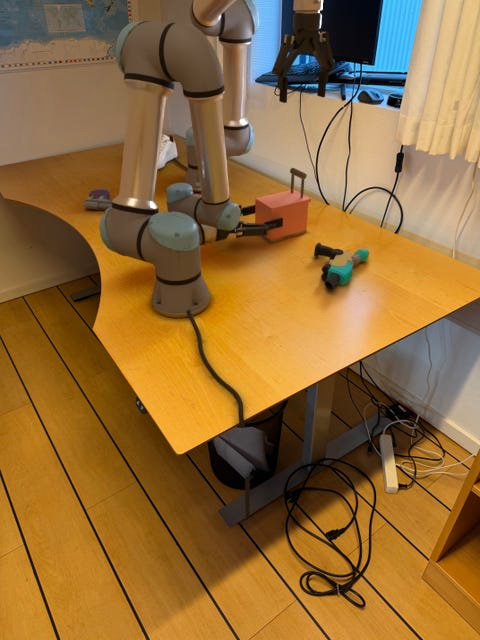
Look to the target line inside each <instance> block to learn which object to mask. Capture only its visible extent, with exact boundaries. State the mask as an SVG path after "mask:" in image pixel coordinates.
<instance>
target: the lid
mask: <svg viewBox="0 0 480 640" xmlns="http://www.w3.org/2000/svg"><path fill="white" fill-rule="evenodd" d="M289 173H290V174H291V179H290V189H289V190H285V191H281V192H276V193H272V194H268V195H264V196H260V197H255V198H254V200H255V202H257V203H259V204H260V205H262V206H264V207H265V208H267V209H268V210H270V211H276V210H280V209H284V208H288V207H292V206H296V205H300V204H304V203H308V204H309V203H311V202H312V198H311V197H309V196H307V195H305V194H304V193H305V180H306V179H307V176H308V175H307V173H305V172H304V171H301V170H299V169H297V168H295V167H291V168H290V170H289ZM295 177H297V178H300V179H301V183H300V191H298V190H295Z"/></svg>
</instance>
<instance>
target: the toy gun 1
mask: <svg viewBox="0 0 480 640" xmlns="http://www.w3.org/2000/svg"><path fill="white" fill-rule="evenodd" d="M110 194H111V193H110V189H109V188H94V189H93V190H91V191H90V192H89V193H88V198H86V199H84V201H85V202H84V204H83V206H82V207H84V208H85V209H88V210H96V211H97V210H98V211H106V210H107V209H108V208H110V207H112V199H110V196H111V195H110Z"/></svg>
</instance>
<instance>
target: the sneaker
mask: <svg viewBox="0 0 480 640" xmlns="http://www.w3.org/2000/svg"><path fill="white" fill-rule="evenodd" d="M178 156H179V155H178V149H177V144H176V140H175V136H174V135H173V134H164V133H162V137H161V145H160V153H159V161H158V170H160V169H162V168H164V167H165V166H166V164H167V163H168V162H170V161H172V160H174V158H176V159H177V157H178Z"/></svg>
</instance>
